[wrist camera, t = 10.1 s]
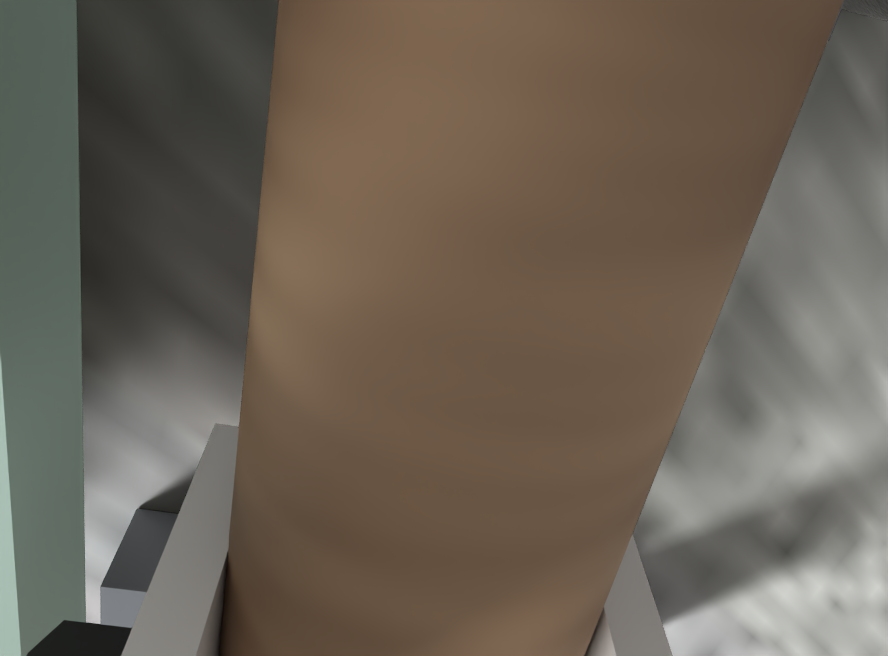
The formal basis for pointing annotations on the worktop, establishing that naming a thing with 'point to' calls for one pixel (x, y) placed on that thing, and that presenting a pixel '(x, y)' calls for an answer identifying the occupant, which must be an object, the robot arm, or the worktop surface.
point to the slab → (40, 325)
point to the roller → (486, 304)
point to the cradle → (142, 560)
